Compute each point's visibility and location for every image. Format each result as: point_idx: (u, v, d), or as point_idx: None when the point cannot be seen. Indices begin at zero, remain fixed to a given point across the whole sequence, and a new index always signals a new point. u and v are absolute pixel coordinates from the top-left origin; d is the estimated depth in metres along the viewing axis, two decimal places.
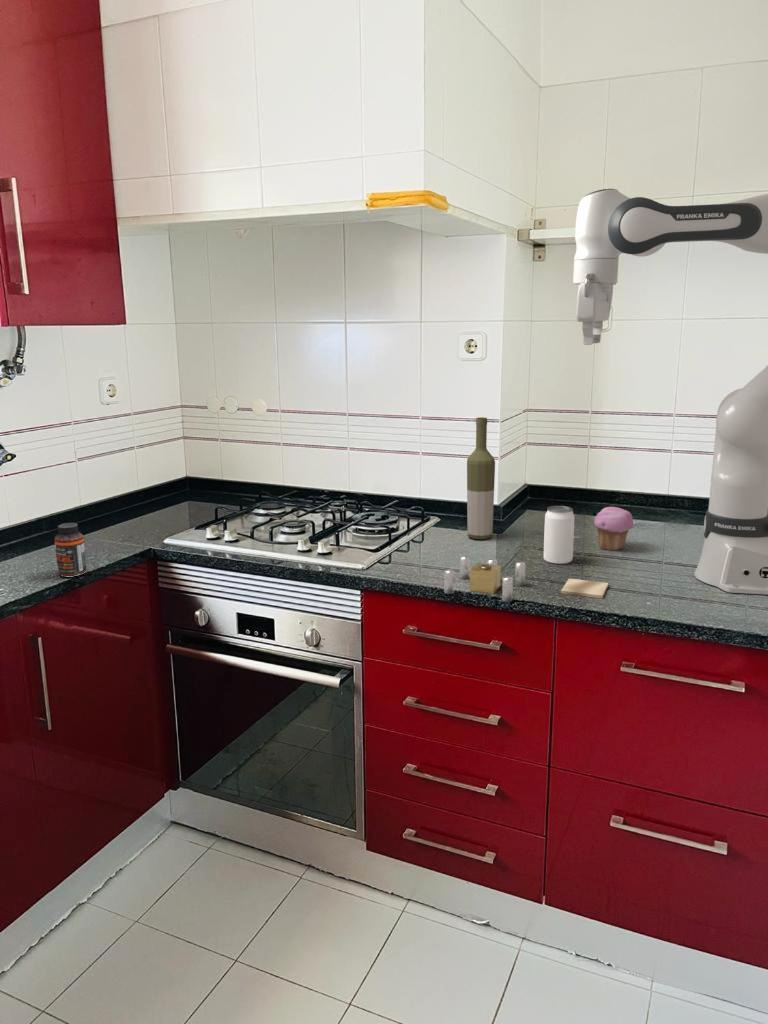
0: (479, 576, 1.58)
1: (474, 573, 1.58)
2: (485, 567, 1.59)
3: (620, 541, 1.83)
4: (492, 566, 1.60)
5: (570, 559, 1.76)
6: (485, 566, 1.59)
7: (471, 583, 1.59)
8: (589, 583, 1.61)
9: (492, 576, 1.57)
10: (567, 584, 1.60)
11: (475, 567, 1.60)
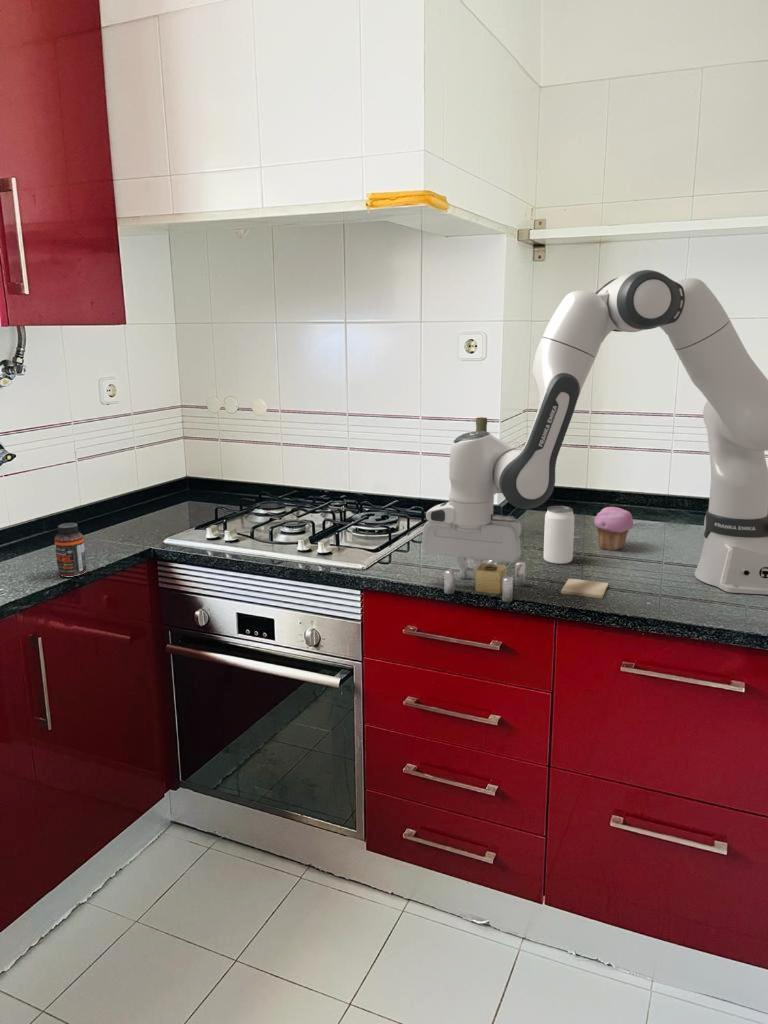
0: (485, 576, 1.57)
1: (480, 573, 1.57)
2: (491, 567, 1.58)
3: (620, 541, 1.83)
4: (498, 566, 1.60)
5: (570, 559, 1.76)
6: (491, 566, 1.59)
7: (477, 583, 1.58)
8: (589, 583, 1.61)
9: (498, 576, 1.56)
10: (567, 584, 1.60)
11: (481, 567, 1.59)
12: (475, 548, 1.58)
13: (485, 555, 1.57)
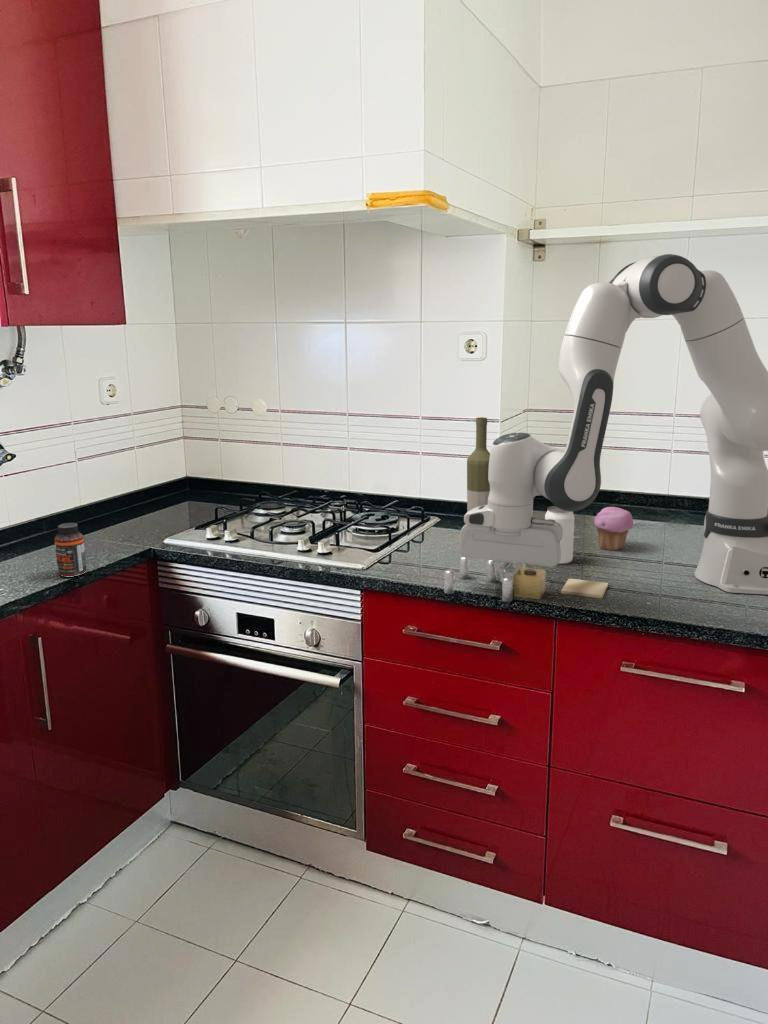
0: (524, 581, 1.54)
1: (519, 577, 1.54)
2: (530, 572, 1.55)
3: (620, 541, 1.83)
4: (537, 571, 1.56)
5: (570, 559, 1.76)
6: (530, 570, 1.56)
7: (516, 588, 1.55)
8: (589, 583, 1.61)
9: (538, 581, 1.53)
10: (567, 584, 1.60)
11: (520, 572, 1.56)
12: (514, 552, 1.54)
13: (524, 559, 1.54)
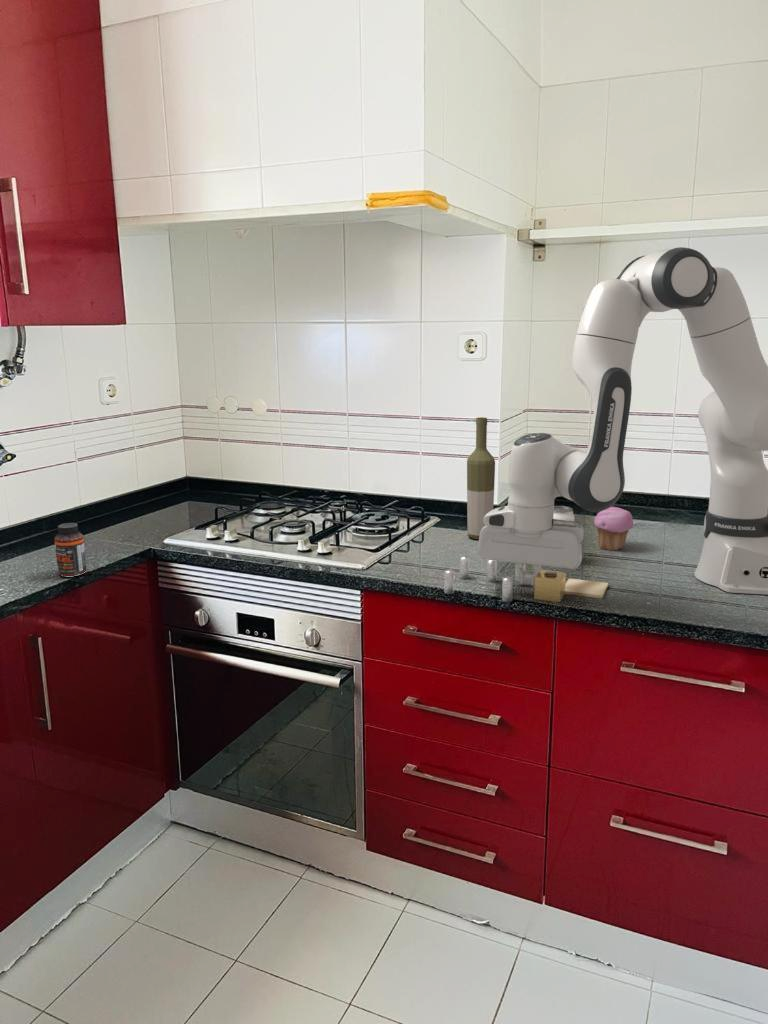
0: (545, 583, 1.52)
1: (539, 580, 1.53)
2: (551, 574, 1.53)
3: (620, 541, 1.83)
4: (557, 573, 1.55)
5: None
6: (550, 573, 1.54)
7: (536, 590, 1.53)
8: (589, 583, 1.61)
9: (559, 584, 1.51)
10: (567, 584, 1.60)
11: (540, 574, 1.54)
12: (534, 554, 1.53)
13: (545, 561, 1.52)
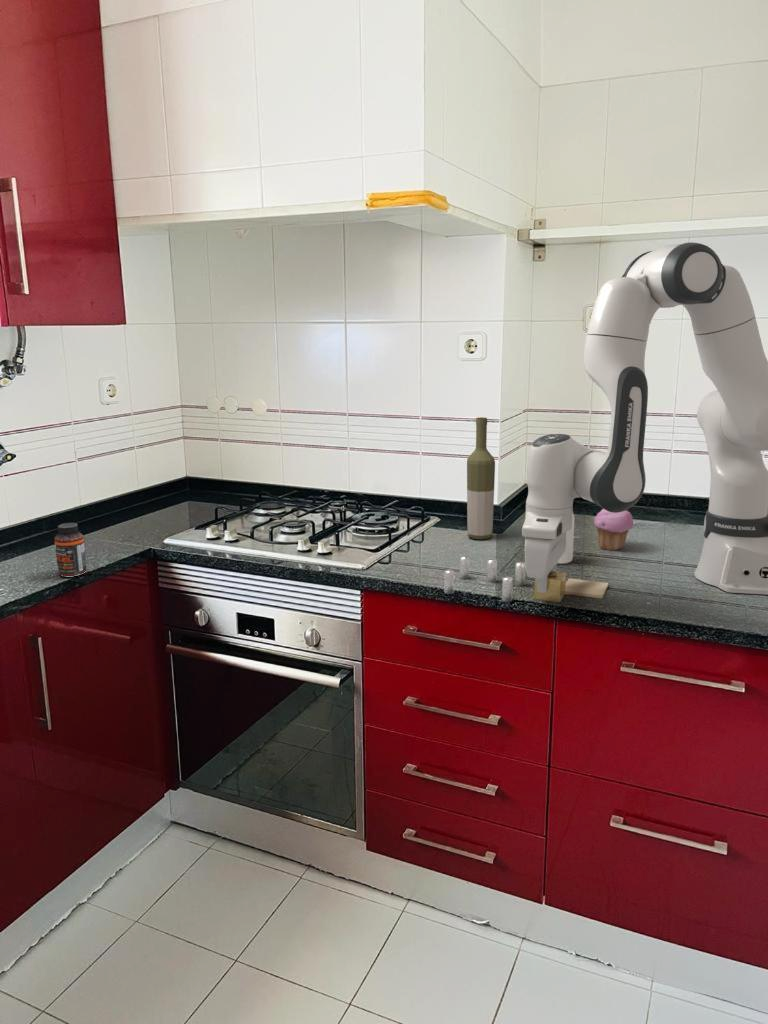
0: None
1: None
2: (551, 574, 1.54)
3: (620, 541, 1.83)
4: (557, 573, 1.55)
5: (570, 559, 1.76)
6: (550, 573, 1.54)
7: (536, 591, 1.54)
8: (589, 583, 1.61)
9: (559, 583, 1.51)
10: (567, 584, 1.60)
11: None
12: (558, 551, 1.54)
13: (560, 554, 1.56)
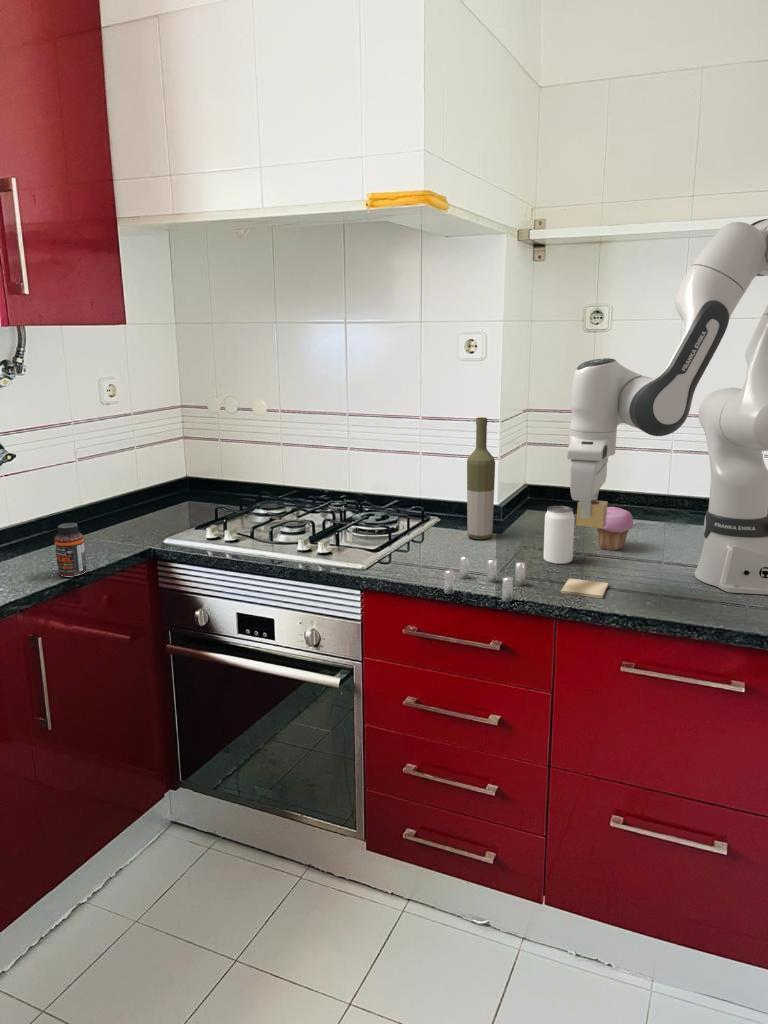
0: None
1: None
2: (593, 501, 1.54)
3: (620, 541, 1.83)
4: (599, 501, 1.55)
5: (570, 559, 1.76)
6: (593, 500, 1.54)
7: (578, 517, 1.53)
8: (589, 583, 1.61)
9: (602, 509, 1.51)
10: (567, 584, 1.60)
11: None
12: (600, 478, 1.54)
13: (602, 482, 1.56)
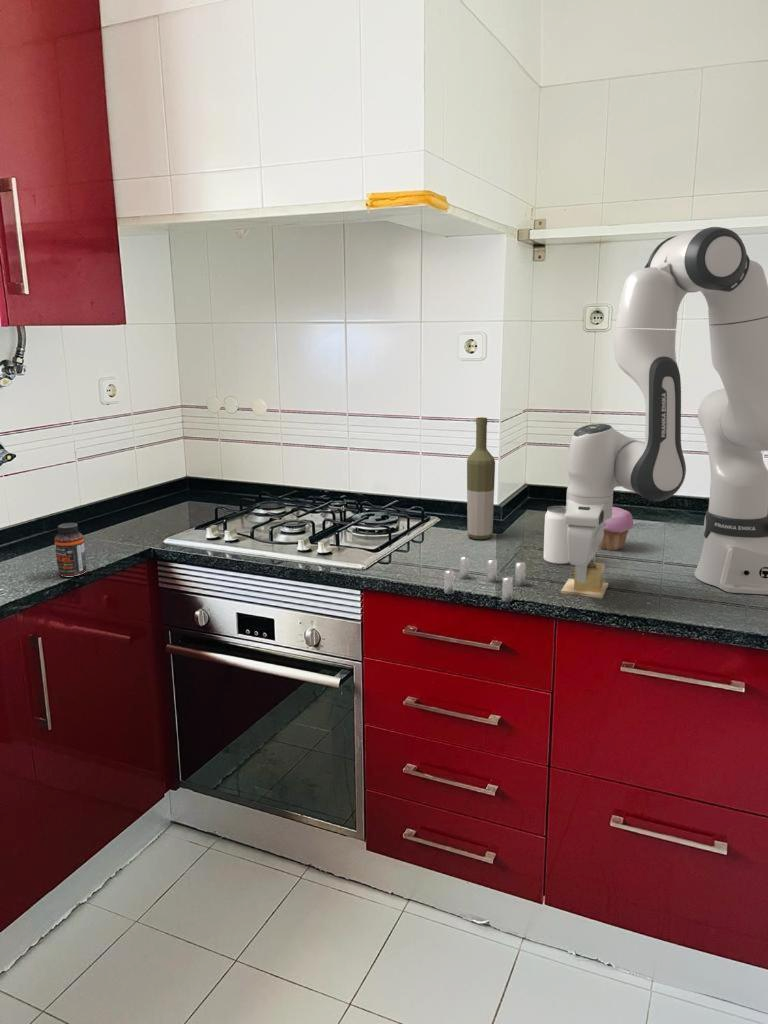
0: None
1: None
2: (590, 565, 1.57)
3: (620, 541, 1.83)
4: (596, 564, 1.58)
5: None
6: (589, 564, 1.57)
7: (576, 581, 1.57)
8: None
9: (598, 574, 1.54)
10: (567, 584, 1.60)
11: None
12: (597, 539, 1.57)
13: (599, 542, 1.59)
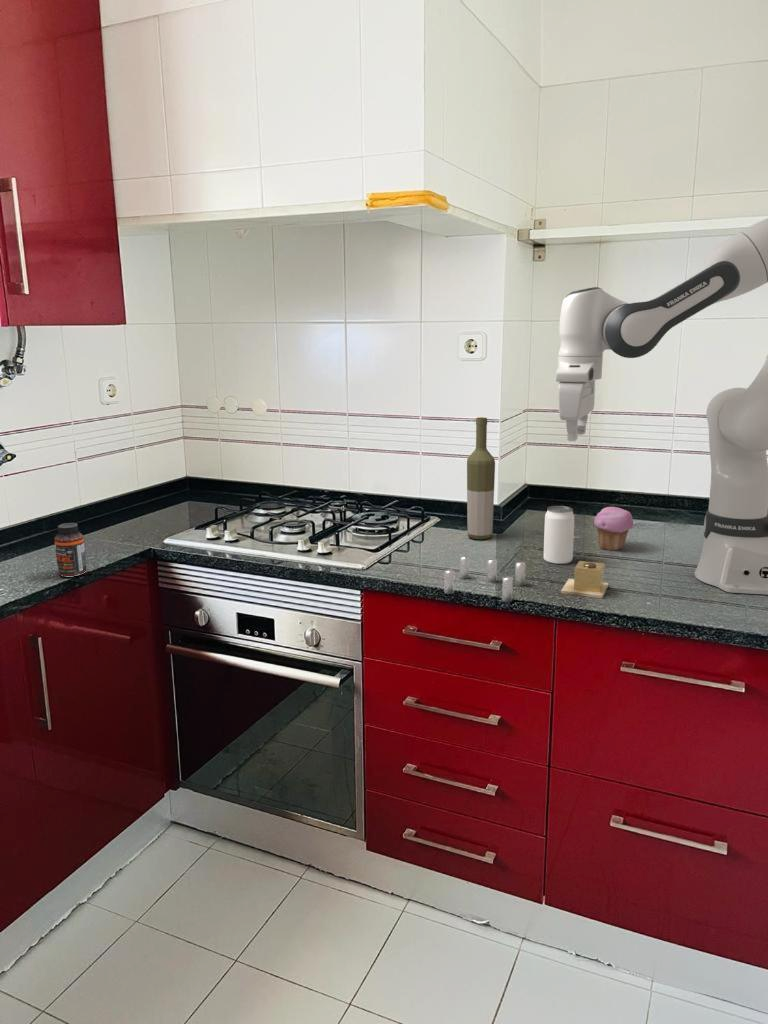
0: (585, 574, 1.56)
1: (579, 571, 1.56)
2: (590, 565, 1.57)
3: (620, 541, 1.83)
4: (596, 564, 1.58)
5: (570, 559, 1.76)
6: (589, 564, 1.57)
7: (576, 581, 1.57)
8: None
9: (598, 574, 1.54)
10: (567, 584, 1.60)
11: (579, 565, 1.58)
12: (588, 403, 1.63)
13: (589, 408, 1.65)
